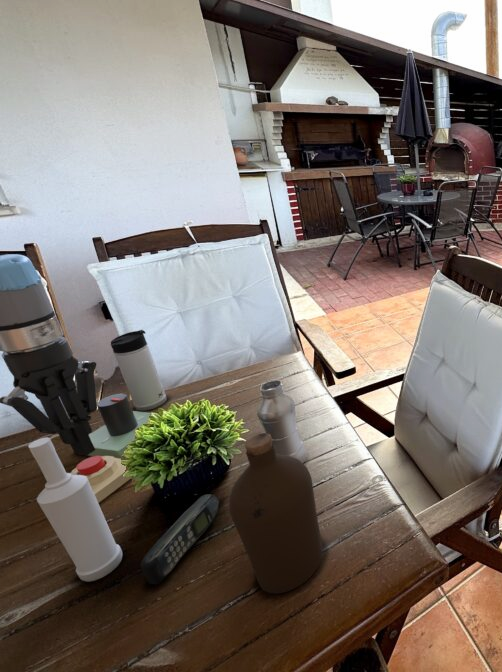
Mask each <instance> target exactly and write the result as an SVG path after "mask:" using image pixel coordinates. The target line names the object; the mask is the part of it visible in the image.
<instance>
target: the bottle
mask: <svg viewBox="0 0 502 672" xmlns="http://www.w3.org/2000/svg"><path fill="white" fill-rule="evenodd" d="M28 449H29V451H30V452H31V455H32V457H33V458H34V459H35V461H36V463H37V465H38V467H39V469H40V470H41V473H42V474H43V477H44V479H45V480H46V482H45V484H44V488H43V490H42V491H41V492H40V493H39V494H38V495H37V498H36V502H37V503H38V505H39V507H40V509H41V510H42V512H43V513H44V515H45V517H46V519H47V521H48V522H49V524H50V525H51V527H52V529H53V531H54V532H55V534H56V536H57V538H58V539H59V540H60V542H61V544H62V545H63V547H64V549H65V550H66V552H67V554H68V556H69V557H70V559H71V560H72V562H73V564H74V565H75V567H76V568H75V573H76V575H77V576H78V578H79V579H80V580H81V581H84V582H95V581H97V580H100V579H102V578H104V577H105V576H107V575H109V574H110V573H112V571H114V570H115V569H116V568H118V566H119V565H120V563H122V562H121V561H122V560H123V550H122V548H121V546H120V545H119V544H117V543H116V541H115V538H114V536H113V534H112V532H111V530H110V527H109V525H108V523H107V520H106V517H105V516H104V513H103V511H102V509H101V506H100V504H99V503H98V501H97V499H96V497H95V494H94V492H93V490H92V488H91V485H90V483H89V481H88V478H87V477H86V476H83V475H71V472H67V471H66V469H65V467H64V465H63V463H62V461H61V459H60V456H59V455H58V453H57V452H56V451H57V450H56V448H55V446H54V443H53V442H52V439H51V437H41V438H38V439H35V440H34V441H32V442H30V443H29V444H28Z"/></svg>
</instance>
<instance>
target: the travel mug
mask: <svg viewBox="0 0 502 672" xmlns="http://www.w3.org/2000/svg"><path fill="white" fill-rule="evenodd" d="M145 334H146V331H145V330H144V329H139V330H134V331H129V332H126V333H123V334H120V335H118V336H116V337H115V338H114V339H112V340H111V341H110V347H111V349H112V352H113V355H114V358H115V360H116V362H117V366H118V367H119V370H120V373H121V374H122V375H121V376H122V378H123V380H124V383H125V386H126V389H127V390H128V393H129V396H130V398H131V401H132V404H133V406H134V408H135V409H134V410H135V411H138V412H147V411H150V410H153V409H157V408H158V407H160V406H162V405H164V404H165V402H166V401H167V399H168V398H167V395H166V392H165V390H164V386H163V384H162V380H161V377H160V375H159V372H158V369H157V367H156V363H155V361H154V358H153V355H152V353H151V349H150V346H149V345H148V342H147V340H146V336H145Z"/></svg>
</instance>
